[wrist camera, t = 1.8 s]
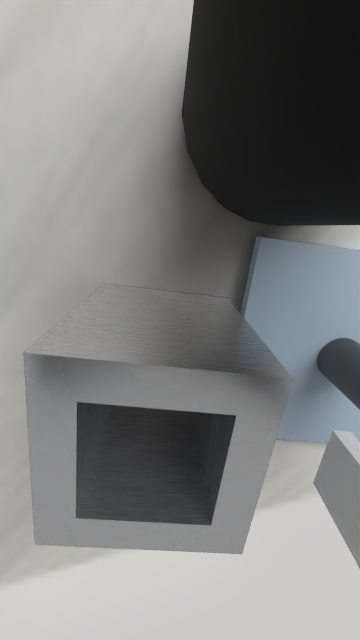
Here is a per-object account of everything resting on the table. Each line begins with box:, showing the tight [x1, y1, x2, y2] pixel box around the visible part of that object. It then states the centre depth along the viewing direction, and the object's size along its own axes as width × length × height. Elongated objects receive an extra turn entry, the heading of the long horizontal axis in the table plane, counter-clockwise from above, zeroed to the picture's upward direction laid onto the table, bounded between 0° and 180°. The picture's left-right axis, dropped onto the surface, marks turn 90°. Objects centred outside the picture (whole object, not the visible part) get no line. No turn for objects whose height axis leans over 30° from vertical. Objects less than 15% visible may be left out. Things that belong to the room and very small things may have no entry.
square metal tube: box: [24, 284, 294, 554], centre depth 14 cm, size 8×8×10 cm
